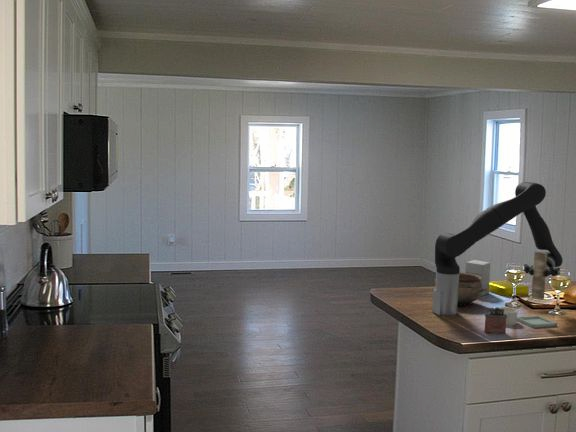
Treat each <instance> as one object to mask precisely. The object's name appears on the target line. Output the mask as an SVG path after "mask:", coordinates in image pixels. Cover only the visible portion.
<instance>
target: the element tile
mask: <svg viewBox="0 0 576 432" xmlns="http://www.w3.org/2000/svg"><path fill="white" fill-rule="evenodd" d="M507 280H508V279H506V280H505V279H504V280H492V281H491V280H489V293H491V294H495V295H498V296H502V297H506V298H508V297H513V296H512V294H513V284H512V283H510V282H508V281H507ZM529 292H530V286H529V285H527V284H523V283H520V284H519V285H517V286H516V295H522V296H525V295H524V294H528V295H529Z"/></svg>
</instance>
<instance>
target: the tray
mask: <svg viewBox="0 0 576 432" xmlns="http://www.w3.org/2000/svg"><path fill="white" fill-rule="evenodd" d="M517 323H520V324H523V325H525V326H528V327H529V328H532V329H537V328H541V329H542V328H553V327H554V328H555V327H558V323H557V322H555V321H553V320H550V319H548V318H546V317H543V316H541V315H526V316H525V315H524V316H517Z"/></svg>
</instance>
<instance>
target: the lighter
mask: <svg viewBox="0 0 576 432" xmlns="http://www.w3.org/2000/svg"><path fill="white" fill-rule="evenodd" d="M498 307H499V306H498ZM498 307H495V308H494V307H488V308H487V312H488V313H485V314H484V317H485V319H484V331H483V333H484V334H487V335H506V334H507V333H506V331H507V330H506V329H507V325H506V318H507V315H506V314H504V309H499V308H498Z"/></svg>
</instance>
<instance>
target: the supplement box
mask: <svg viewBox="0 0 576 432" xmlns="http://www.w3.org/2000/svg"><path fill="white" fill-rule="evenodd" d="M464 269H465V270H464V273H470V274H475V275H478V276H480V277H481V279H480V281H481V284H482V288H483V289H485V288H487V289H488V290H486V291H483V292H482V294H481V296H480V297H483V296H485V295H488V294H489V293H490V292H489V281H491V280H490V278H491V277H490V276H491V262H489V261H483V260H478V259H472V260H470V261H465V268H464Z"/></svg>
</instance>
